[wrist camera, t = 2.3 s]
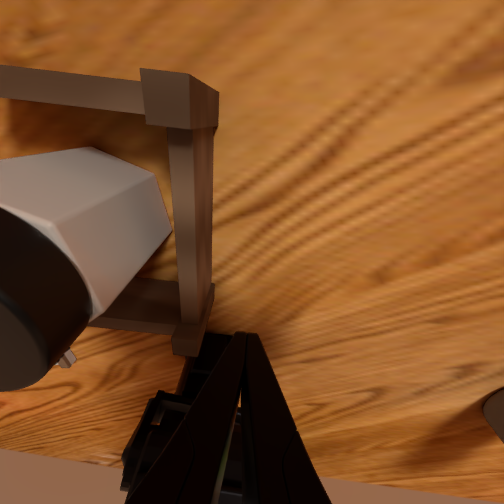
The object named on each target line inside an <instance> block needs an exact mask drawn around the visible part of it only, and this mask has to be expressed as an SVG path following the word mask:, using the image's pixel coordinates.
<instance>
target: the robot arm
mask: <svg viewBox="0 0 504 504" xmlns="http://www.w3.org/2000/svg"><path fill="white" fill-rule="evenodd" d="M185 357H186V361H185V364H184V367H183V370H182V374H181V377H180V380H179V383H178V386H177V389H176V392H175V394H171V393H166V392H165V391H162V390H158V392H157V395H156V397H155V398H151V399H149V401H148V404H147V406H146V409H145V411H144V414H143V416H142V418H141V420H140V422H139V424H138V426H137V428H136V429H135V431H134V433H133V435H132V437H131V438H130V440H129V442H128V444H127V445H126V447H125V449H124V451H123V454H122V457H121V459H122V462H123V465H124V470H123V474H122V475H123V479H122V482H121V487H120V491H126V492H128V494H127V497H126V501H125V504H332V503H331V501H330V499H329V497H328V495H327V493H326V491H325V489H324V487H323V485H322V483H321V481H320V479H319V477H318V475H317V473H316V471H315V469H314V467H313V465H312V462H311V460H310V458H309V455H308V453H307V451H306V449H305V446H304V444H303V442H302V439H301V437H300V434H299V432H298V431H296V430H297V427H296V425H295V422H294V420H293V418H292V415H291V413H290V410H289V408H288V405H287V403H286V400H285V398H284V396H283V393H282V391H281V388H280V386H279V383H278V381H277V379H276V376H275V374H274V371H273V369H272V366H271V364H270V361H269V359H268V357H267V354H266V352H265V349H264V347H263V344H262V342H261V340H260V337H259V335H258V334H257V333H250V332H249V333H246V332H241V331H237V332H235V334H234V336H228V335H219V334H209V333H204V336H203V340H202V343H201V347H200V350H199V354H198V357H192V356H185ZM240 393H241V407H238V404H239V399H240ZM158 423H160V425H158Z"/></svg>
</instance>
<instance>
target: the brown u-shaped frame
mask: <svg viewBox="0 0 504 504" xmlns="http://www.w3.org/2000/svg"><path fill="white" fill-rule="evenodd" d="M140 76H141V81H132V80H124V79H115V78H107V77H99V76H90V75H82V74H74V73H65V72H57V71H49V70H40V69H32V68H24V67H15V66H7V65H0V97H1V98H10V99H18V100H27V101H35V102H44V103H52V104H61V105H69V106H78V107H86V108H94V109H103V110H111V111H120V112H128V113H137V114H145V118H146V124H148V125H157V126H165V127H167V138H168V151H169V164H170V176H171V189H172V202H173V215H174V228H175V241H176V254H177V267H178V280H179V282H173V281H164V280H155V279H146V278H137V277H133V279H132V280H131V281H130V282H129V283H128V285H127V286H126V287H125V288H124V289H123V291H122V292H121V293H120V294H119V295H118V297H117V298H116V299H115V300H114V301H113V303H112V304H111V305H110V306H109V307H108V309H107V310H106V311H105V312H104V313H103V314H101V315H100V316H98V317H97V318H95V319H94V320H92V321H91V322H90V323H88V325H87V326H91V327H100V328H109V329H119V330H128V331H137V332H146V333H156V334H165V335H172V337H171V341H172V349H173V355H183V356H192V357H198V354H199V350H200V347H201V343H202V340H203V336H204V333H205V329H206V325H207V322H208V318H209V315H210V311H211V308H212V304H213V301H214V286H215V284H214V283H211V274H212V205H213V136H214V126H218V115H219V92H218V91H216V90H214V89H213V88H211V87H210V86H208V85H206V84H205V83H203V82H201V81H200V80H198V79H196V78H195V77H193V76H192V75H190V74H186V73H178V72H170V71H161V70H153V69H145V68H140Z"/></svg>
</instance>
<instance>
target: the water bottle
mask: <svg viewBox="0 0 504 504" xmlns="http://www.w3.org/2000/svg"><path fill="white" fill-rule="evenodd" d="M483 414H484V416H485V418H486V420H487V421H488V423H489V424H490V426H491V427H492V428H493V430H494V431H495V432H496V434H497V435H498V436H499V438H500V439H501V440H502V442H503V443H504V389H503V390H501V391H499V392H497V393H495V394H494V395H493V396H491V397H490V398H489V399H488V400H487V401H486V403H485V405H484V407H483Z"/></svg>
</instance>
